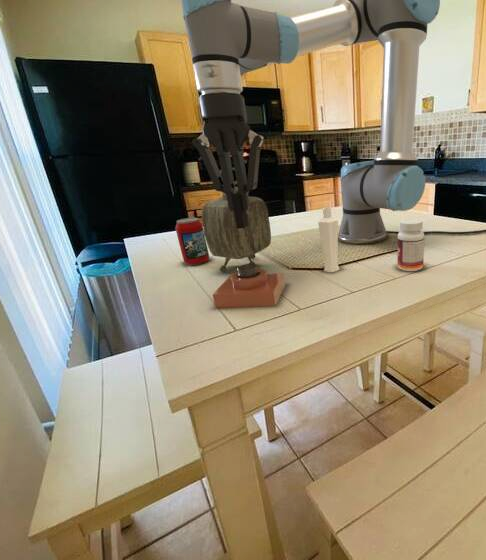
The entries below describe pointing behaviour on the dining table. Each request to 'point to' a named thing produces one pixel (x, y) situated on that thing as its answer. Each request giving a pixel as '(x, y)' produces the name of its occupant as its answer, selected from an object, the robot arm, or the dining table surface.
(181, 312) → the dining table surface
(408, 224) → the pill bottle
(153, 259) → the dining table surface
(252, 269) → the dark grey short cylinder
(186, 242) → the beverage can
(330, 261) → the perfume bottle
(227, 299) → the brown stepped base
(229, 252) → the tabletop clock
